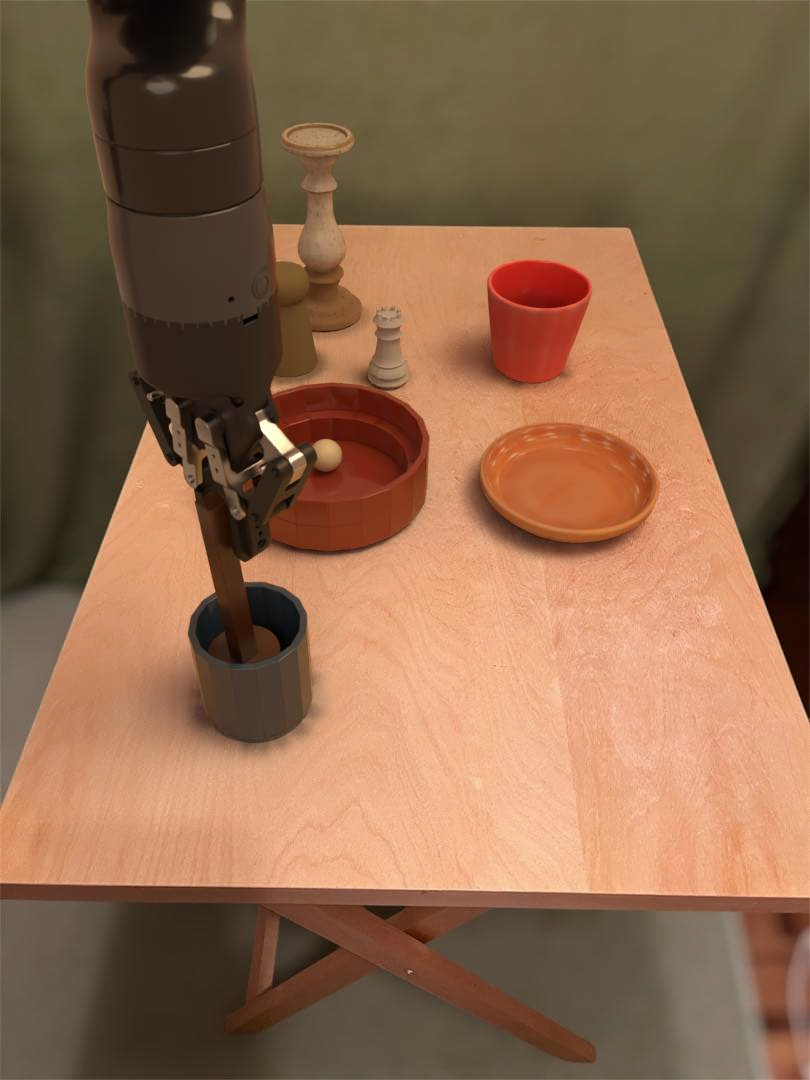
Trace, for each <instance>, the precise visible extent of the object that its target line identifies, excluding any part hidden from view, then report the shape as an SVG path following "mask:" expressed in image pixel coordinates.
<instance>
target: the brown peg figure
mask: <svg viewBox="0 0 810 1080" xmlns="http://www.w3.org/2000/svg"><path fill="white" fill-rule="evenodd" d="M276 266H277V279H278V292H279V304H280V317H281V329H282V342H283V356H282V360H281V363H280V365H279V367H278V369H277V371H276V373H275V376H277V377H280V378H281V377H282V378H294V377H300V376H304V375H306V374H308V373H310V372H312V371H313V370H314V369H315V368H316V367H317V365H318V356H317V351H316V345H315V341H314V336H313V335H314V334H313V330H311V326H310V321H309V316H308V311H307V306H306V301H305V297H306V296H307V294H308V291H309V286H310V284H309V278H308V275H307V272H306V271H305V269H304V267H303V266H302V265H301V264H299V263H296V262H294V261H286V260H285V261H284V260H282V261H276Z"/></svg>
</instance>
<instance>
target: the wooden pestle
mask: <svg viewBox="0 0 810 1080" xmlns="http://www.w3.org/2000/svg"><path fill="white" fill-rule="evenodd" d="M194 505H195V510H196V514H197V519H198V522H199V527H200V531H201V532H200V533H201V536H202V540H203V541H202V542H203V544H204V549H205V554H206V558H207V562H208V566H209V570H210V576H211V580H212V583H213V588H214V592H216V597H217V601H218V605H219V610H220V614H221V618H222V623H223V627H224V632H222V633H221V634H219V635H218V636H217V637H216V638H215V639H214V640H213V642H212V643H211V645H210V646H209V649H208V653H209V654H210V655H211V656H212V657H213V658H216V659H219V660H222V661H225V662H228V663H232V664H255V663H258V662H261V661H264V660H267V659H270V658H273V657H275V656H277V655H278V654H279V653H281V648H280V643H279V641H278V639H277V637H276V636H275V635H274V634H273V633H272V632H271V631H269V630H268V629H266V628H264V627H261V626H257V625H252V620H251V615H250V610H249V605H248V600H247V595H246V589H245V584H244V582H245V580H244V579H245V578H244V574H243V569H242V565H241V560H240V559H238V558H237V557H236V556H235V555H234V552H233V546H232V539H231V532H230V525H229V518H228V512H229V509H228V506H227V502H226V499H225V498H224V497H223V496H221V495H220V494H218V493H217V492H216V491H214V490H212V491H210V492H209V493H207V494H205V495H204V496H202V497H201V498H199V499H198V500H196V499H195V501H194Z"/></svg>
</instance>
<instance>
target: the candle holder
mask: <svg viewBox="0 0 810 1080" xmlns="http://www.w3.org/2000/svg"><path fill="white" fill-rule="evenodd" d="M279 144H280V146H281V149H283V150H284V151H286V152H287V153H290V154H293V155H295V156H297V159H298V161H299V163H301V164H302V165H303V167H304V169H305V176H304V178H303V180H302V182H301V184H300V187H301V189H302V190H303V191H305V193H306V217H305V221H304V225H303V227H302V230H301V233H300V235H299V238H298V242H297V248H296V249H297V254H298V257H299V259H300V261H301V262H302V264H303V265H305V266H304V267H303V268H304V269H305V271H306V272H307V275H308V278H309V284H310V286H309V291H308V294H307V296H306V297H305V301H306V306H307V311H308V316H309V321H310V326H311V330H312V331H317V332H330V331H338V330H342V329H345V328H348V327H350V326H352V325H354V324H355V323H356V322H358V320H359V319H360V318H361V316H362V311H363V307H362V305H363V304H362V302H361V300H360V299H359V298H358V297H357V296H356V295H355V294H354V293H352V292H351V291H350V290H349V289H348V288H346V287H344V286H342V285H339V284H340V282H341V280H342V279H343V277H344V275H345V271H344V269H343V267H342V266H341V264H342V263H343V261H344V260H345V257H346V254H347V245H346V240H345V238H344V235H343V233H342V231H341V229H340V228H339V225H338V223H337V220H336V218H335V217H336V216H335V211H334V202H333V201H334V199H333V195H334V193H333V192H334V191H335V190H336V189H337V188H338V183H337V181H336V179H335V178H334V176H333V174H332V171H333V170H332V169H333V166H334V164H335V163H337V161H338V160H339V156H340V155H342V154H345V153H347V152H349V151H350V150H351V149H353V147H354V146H355V136H354V134H353V132H352V131H351V130H350V129H348V128H347V127H345V126H342V125H339V124H335V123H329V122H306V123H300V124H295V125H292V126H289V127H288V128H285V129H284V130H283V131H282V133H281V135H280V137H279ZM353 294H354V295H353Z"/></svg>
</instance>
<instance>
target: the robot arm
mask: <svg viewBox="0 0 810 1080" xmlns="http://www.w3.org/2000/svg"><path fill="white" fill-rule="evenodd" d="M86 5H87V9H88V16H89V33H90V34H89V43H88V49H87V55H86V61H85V70H84V71H85V72H84V81H85V94H86V105H87V110H88V115H89V122H90V127H91V134H92V138H93V142H94V143H93V144H94V147H95V153H96V158H97V163H98V167H99V171H100V176H101V181H102V182H101V183H102V186H103V190H104V197H105V203H106V214H107V216H106V217H107V228H108V229H107V231H108V241H109V247H110V253H111V258H112V263H113V269H114V273H115V277H116V282H117V287H118V291H119V297H120V301H121V306H122V311H123V315H124V319H125V320H124V321H125V325H126V330H127V335H128V340H129V345H130V349H131V353H132V358H133V363H134V368H135V369H133V370H131V371H129V372H128V381H129V383H130V385H131V387H132V390H133V392H134V394H135V396H136V398H137V400H138V402H139V405H140V407H141V409H142V411H143V413H144V415H145V417H146V420H147V422H148V425H149V427H150V428H151V431H152V433H153V435H154V437H155V439H156V442H157V444H158V446H159V448H160V451H161V452H162V454H163V457H164V459H165V461H166V462H167V464H168V465H169V466H171V467H173V468H175V467H177V466H178V465H179V466H181V467H182V474H183V477H184V480H185V482H186V484H187V485H188V486H189V487H190V488H191V489H193V493H194V498H195V501H196V500H198V499H199V498H201V497H202V496H204V495H205V494H207V493H209V492H210V491H212V490H214V491H216V492H217V493H218V494H220V495H221V496H223V497H224V498H225V499H226V502H227V506H228V509H229V512H228V518H229V525H230V532H231V539H232V546H233V552H234V555H235V556H236V557H237V558H238V559H240V562H242V563H246V562H249V561H251V560H253V558H255V557H256V556H258V555H259V554H261V553H263V552H264V551H266V550H267V549H268V548H270V547H271V545H272V539H271V535H270V525H269V520H270V519H271V518H273V517H275V516H276V515H278V514H279V513H281V512H283V511H284V510H287V509H289V508H290V507H292V506H294V504H295V502H296V500H297V498H298V496H299V494H300V492H301V490H302V488H303V486H304V484H305V483H306V481H307V479H308V477H309V475H310V473H311V471H312V469H313V467H314V465H315V463H316V461H317V453H316V451H315V449H314V448H313V446H312V445H311V444H310V443H308V442H303V443H301V444H299V445H298V446H296V447H295V446H294V445H293V444H292V443H291V442H290V440H289V439H288V438H287V437H286V436H285V435H284V434H283V432H282V431H281V430H280V429H279V428H278V425H279V412H278V409H277V406H276V404H275V402H274V399H273V396H272V394H273V393H272V388H271V387H272V384H273V381H274V379H275V376H276V375H275V373H276V371H277V369H278V367H279V365H280V363H281V360H282V356H283V342H282V329H281V317H280V304H279V292H278V279H277V266H276V262H277V256H276V243H275V242H276V241H275V233H274V225H273V220H272V216H271V212H270V207H269V203H268V198H267V194H266V185H265V177H264V176H265V175H264V165H263V151H262V142H261V141H262V140H261V128H260V118H259V108H258V100H257V95H256V88H255V83H254V77H253V72H252V71H253V70H252V65H251V59H250V53H249V47H248V37H247V36H248V34H247V33H248V32H247V0H86ZM170 425H171V429H170ZM250 479H252V482H253V487H252V488H250V489H248V490H247V491H245V492H243V485H244V483H245V482H247V481H248V480H250Z"/></svg>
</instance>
